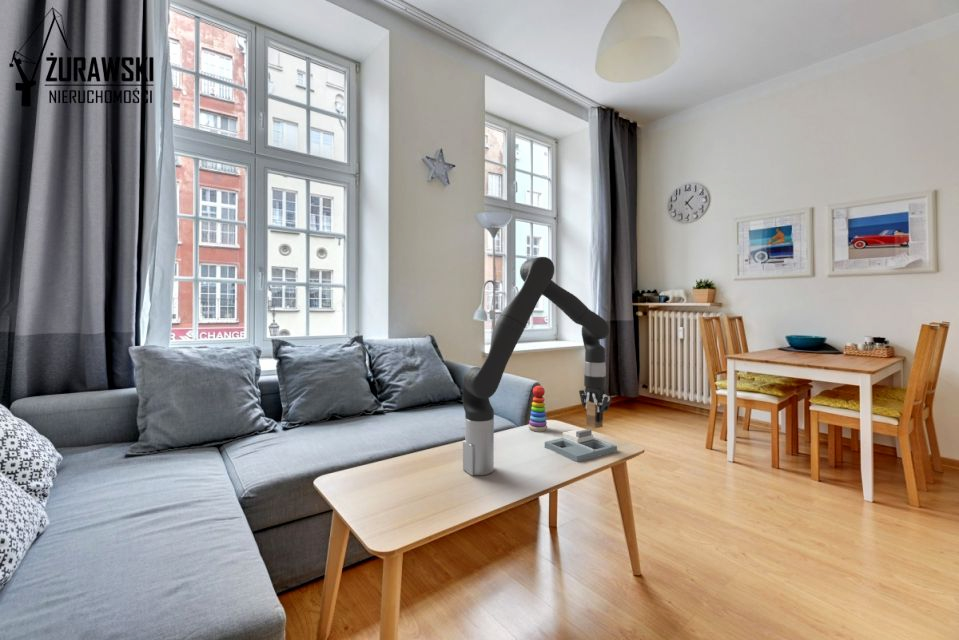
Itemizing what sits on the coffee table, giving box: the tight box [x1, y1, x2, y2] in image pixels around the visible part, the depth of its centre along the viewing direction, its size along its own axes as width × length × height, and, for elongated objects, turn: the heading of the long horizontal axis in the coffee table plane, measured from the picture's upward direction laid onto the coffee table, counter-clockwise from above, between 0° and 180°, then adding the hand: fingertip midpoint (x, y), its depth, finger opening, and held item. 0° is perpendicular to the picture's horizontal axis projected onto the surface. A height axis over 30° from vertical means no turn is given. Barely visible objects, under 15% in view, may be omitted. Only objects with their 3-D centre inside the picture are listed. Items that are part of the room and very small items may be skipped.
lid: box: [562, 428, 594, 443], centre depth 158 cm, size 8×8×4 cm
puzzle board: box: [544, 436, 618, 463], centre depth 153 cm, size 20×17×3 cm
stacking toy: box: [528, 385, 548, 432], centre depth 176 cm, size 8×8×19 cm
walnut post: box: [586, 401, 604, 429], centre depth 150 cm, size 4×4×9 cm
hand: (594, 420), depth 150 cm, fingers closed on walnut post, 4 cm apart
